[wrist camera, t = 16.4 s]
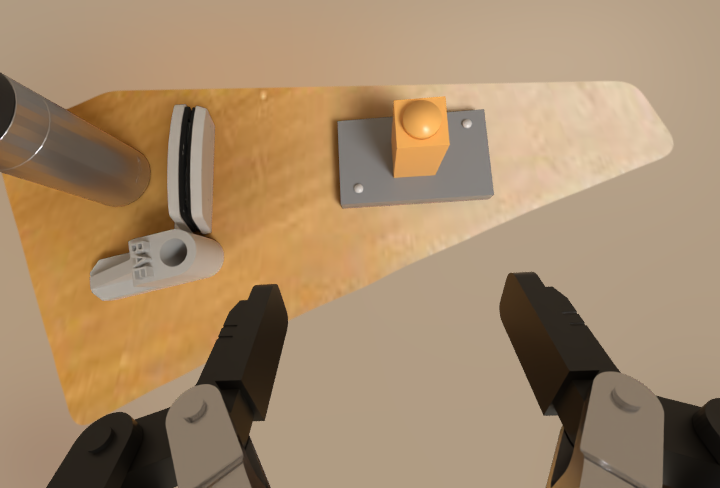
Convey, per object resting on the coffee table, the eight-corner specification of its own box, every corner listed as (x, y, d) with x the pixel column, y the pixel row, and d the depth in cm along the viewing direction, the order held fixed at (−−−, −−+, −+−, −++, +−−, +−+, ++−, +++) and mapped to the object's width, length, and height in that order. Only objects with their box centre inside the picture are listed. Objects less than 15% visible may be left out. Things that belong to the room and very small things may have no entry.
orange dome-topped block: (393, 177, 41) (397, 144, 32) (391, 139, 42) (394, 95, 33) (435, 175, 41) (451, 141, 32) (431, 136, 42) (446, 91, 32)
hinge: (182, 127, 47) (160, 85, 37) (216, 130, 48) (203, 90, 39) (177, 236, 44) (152, 220, 35) (213, 236, 46) (198, 221, 36)
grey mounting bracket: (102, 263, 45) (42, 258, 37) (221, 234, 44) (186, 222, 36) (106, 302, 44) (46, 305, 36) (227, 273, 43) (193, 269, 36)
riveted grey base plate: (342, 208, 43) (335, 193, 36) (339, 128, 45) (331, 99, 38) (488, 199, 42) (509, 181, 35) (479, 117, 44) (497, 85, 37)
